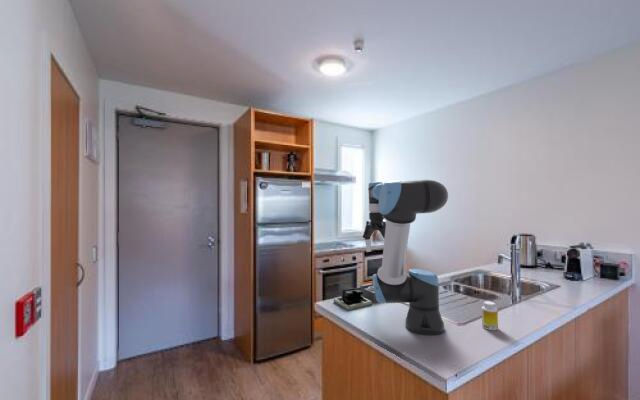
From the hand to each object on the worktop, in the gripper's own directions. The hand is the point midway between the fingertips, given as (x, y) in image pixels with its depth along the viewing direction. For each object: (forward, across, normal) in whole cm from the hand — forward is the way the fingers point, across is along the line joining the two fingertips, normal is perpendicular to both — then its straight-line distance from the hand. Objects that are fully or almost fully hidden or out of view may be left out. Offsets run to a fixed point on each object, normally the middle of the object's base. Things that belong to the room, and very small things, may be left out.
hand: (377, 253), depth 148 cm
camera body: (+26, +9, -3) cm, 27 cm away
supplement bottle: (+27, -46, -18) cm, 56 cm away
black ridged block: (+25, +8, +11) cm, 29 cm away
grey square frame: (+26, +8, +11) cm, 29 cm away
